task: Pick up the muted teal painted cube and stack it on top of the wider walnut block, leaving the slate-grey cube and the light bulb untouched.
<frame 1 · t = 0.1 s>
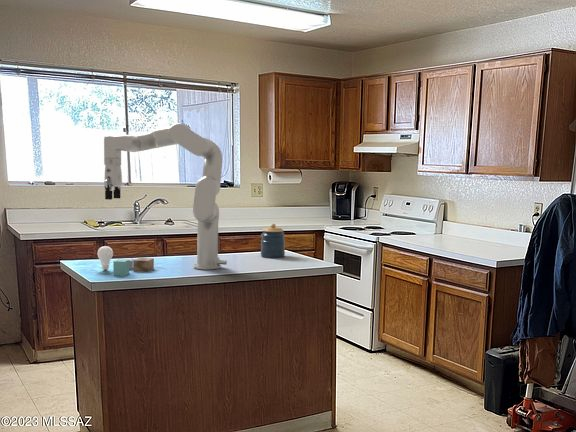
hand: (113, 198, 246), 31 cm above the countertop, tool pointing down, fingers open, 9 cm apart
canister: (272, 256, 282), on the countertop
teal cube: (121, 274, 227), on the countertop
walnut block: (143, 270, 238), on the countertop
light bulb: (105, 271, 234), on the countertop
grey cube: (128, 268, 240), on the countertop
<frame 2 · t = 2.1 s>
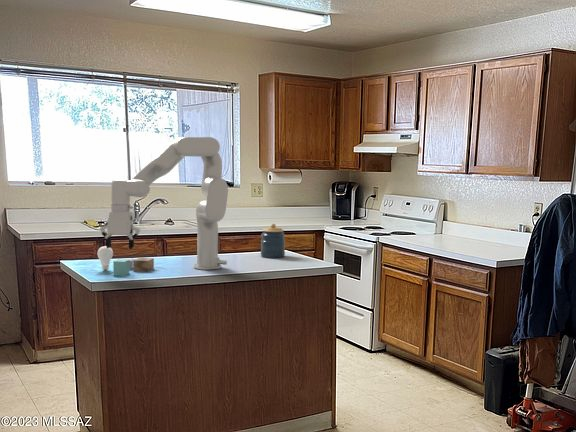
hand: (119, 248, 226), 11 cm above the countertop, tool pointing down, fingers open, 9 cm apart
nothing on the countertop moved.
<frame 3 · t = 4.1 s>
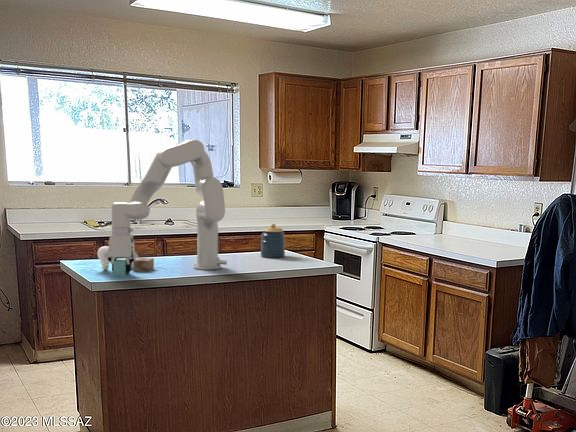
hand: (121, 272, 227), 1 cm above the countertop, tool pointing down, fingers closed on teal cube, 5 cm apart
teal cube: (121, 274, 227), on the countertop, touching gripper
everything else where it was.
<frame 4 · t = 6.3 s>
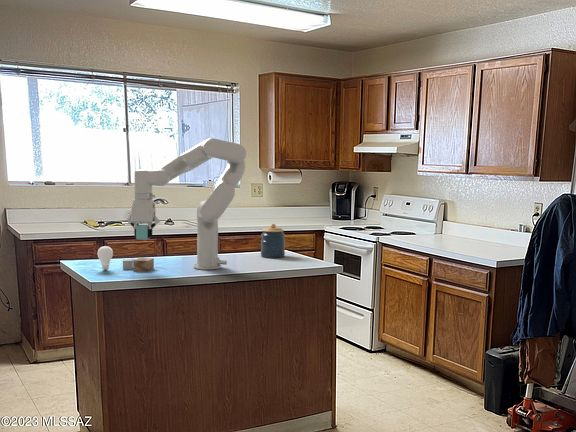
hand: (143, 237, 237), 15 cm above the countertop, tool pointing down, fingers closed on teal cube, 5 cm apart
teal cube: (143, 238, 237), point 14 cm above the countertop, touching gripper
everything else where it was.
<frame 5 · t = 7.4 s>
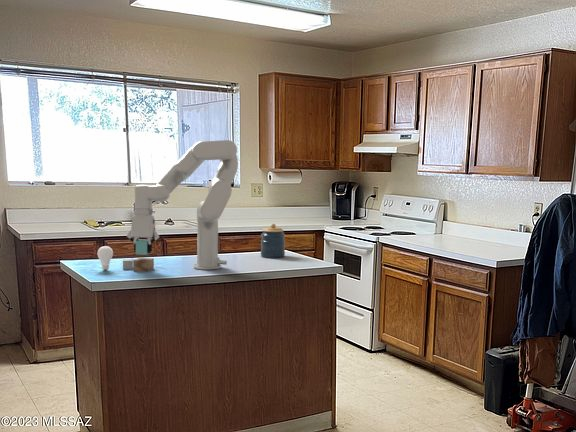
hand: (143, 252, 237), 8 cm above the countertop, tool pointing down, fingers closed on teal cube, 5 cm apart
teal cube: (143, 253, 237), point 7 cm above the countertop, touching gripper
everything else where it was.
when the fingers open (6 cm above the countertop, at t = 8.5 s): teal cube stays where it is, resting on walnut block.
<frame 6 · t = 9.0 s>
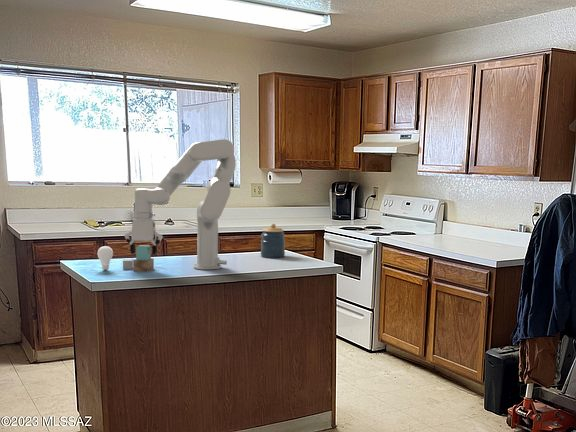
hand: (143, 253, 237), 7 cm above the countertop, tool pointing down, fingers open, 9 cm apart
teal cube: (143, 259, 238), point 5 cm above the countertop, touching walnut block
walnut block: (143, 270, 238), on the countertop, touching teal cube
everything else where it was.
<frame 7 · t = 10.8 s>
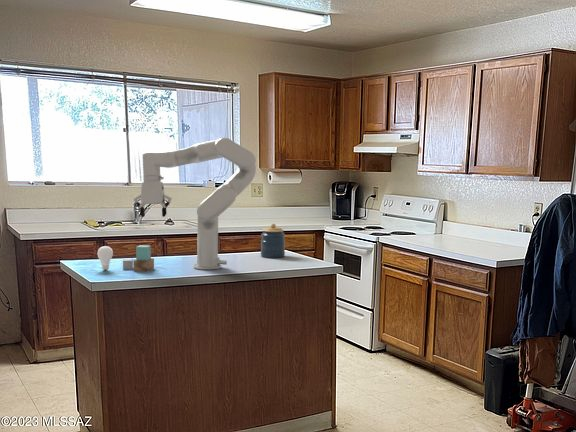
hand: (153, 216, 241), 24 cm above the countertop, tool pointing down, fingers open, 9 cm apart
nothing on the countertop moved.
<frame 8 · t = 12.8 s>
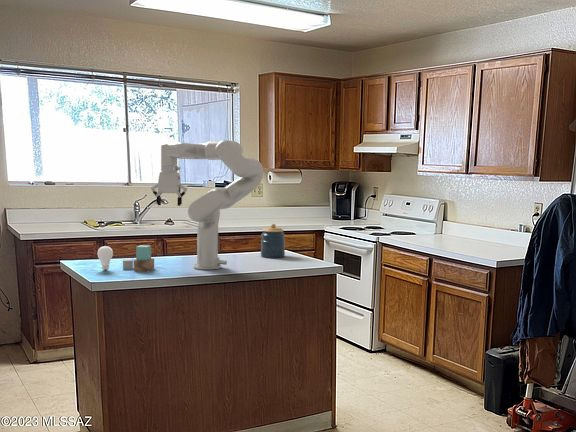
hand: (169, 205, 251), 28 cm above the countertop, tool pointing down, fingers open, 9 cm apart
nothing on the countertop moved.
at the end: teal cube 0.1 cm off-centre on the walnut block, point 5.0 cm above the walnut block's base; teal cube tilted 0°; the gripper is holding nothing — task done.
